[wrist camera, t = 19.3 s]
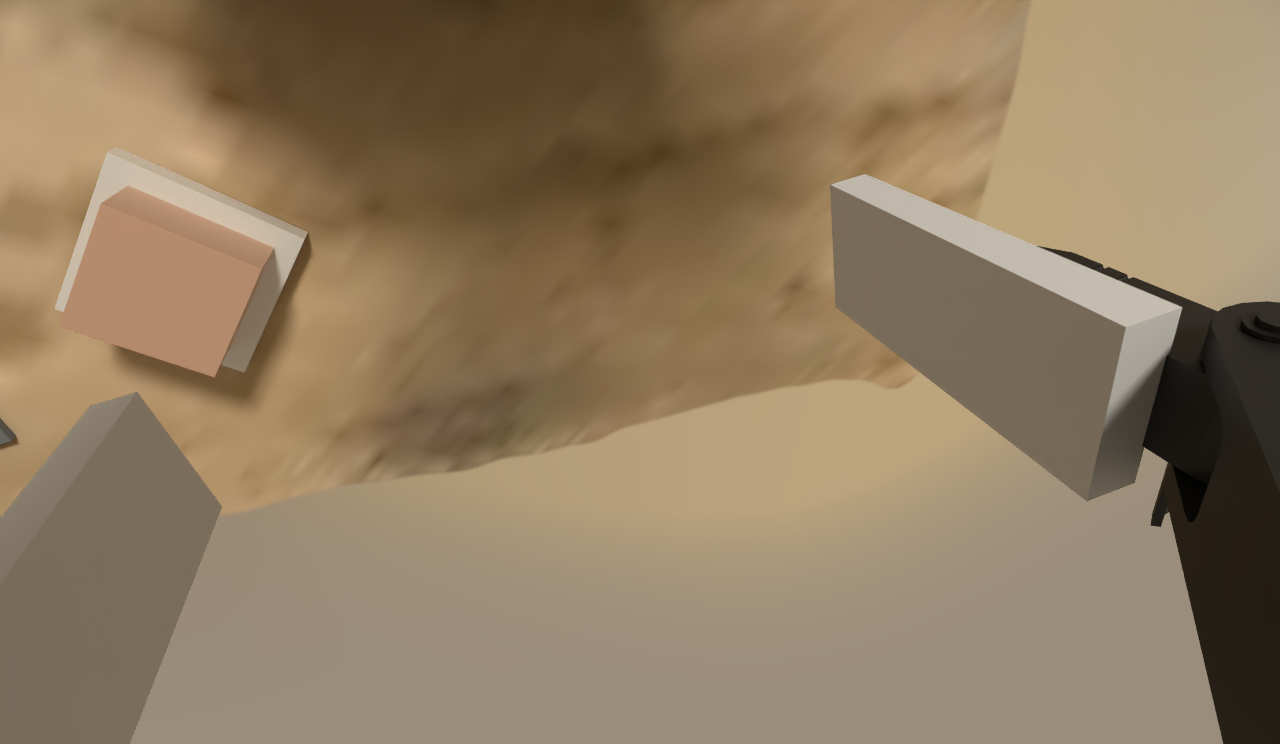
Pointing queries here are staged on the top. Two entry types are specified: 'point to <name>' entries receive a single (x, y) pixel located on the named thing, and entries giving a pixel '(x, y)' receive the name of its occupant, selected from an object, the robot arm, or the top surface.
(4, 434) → the rubber mat
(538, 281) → the top surface
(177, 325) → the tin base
